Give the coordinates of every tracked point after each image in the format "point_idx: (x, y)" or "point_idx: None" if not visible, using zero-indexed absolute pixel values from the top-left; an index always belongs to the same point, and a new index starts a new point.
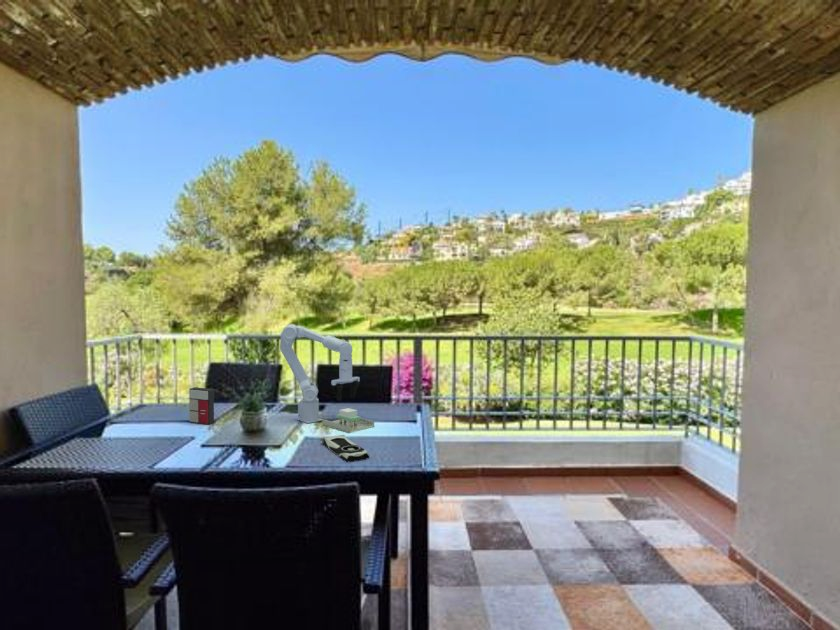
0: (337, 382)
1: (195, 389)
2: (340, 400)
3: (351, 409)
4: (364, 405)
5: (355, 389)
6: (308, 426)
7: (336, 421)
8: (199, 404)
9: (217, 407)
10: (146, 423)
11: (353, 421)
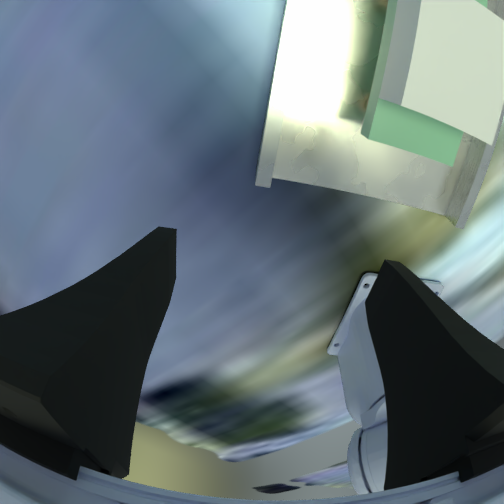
0: (487, 491)
1: None
2: (395, 261)
3: (431, 39)
4: (15, 299)
5: (104, 293)
6: (480, 249)
7: (388, 170)
8: None
9: (341, 472)
10: None
11: (323, 62)
